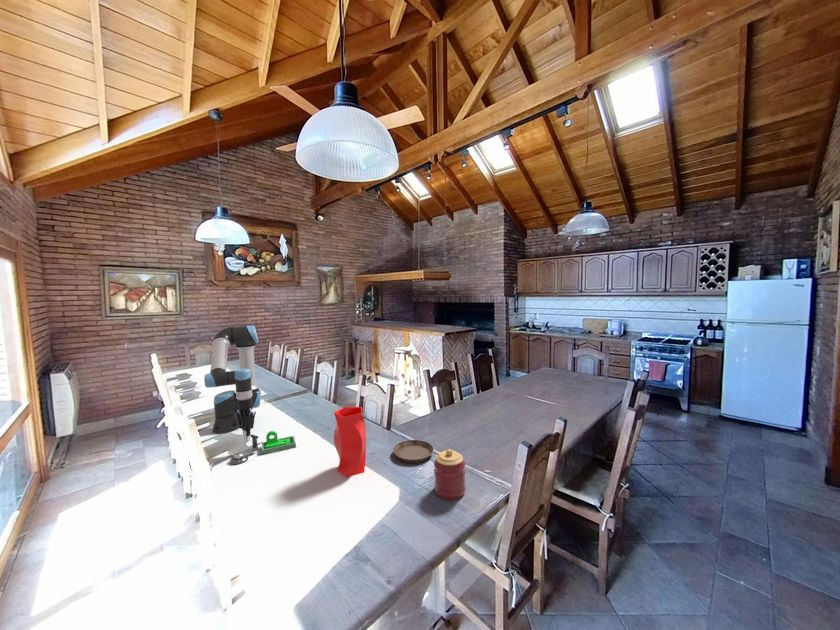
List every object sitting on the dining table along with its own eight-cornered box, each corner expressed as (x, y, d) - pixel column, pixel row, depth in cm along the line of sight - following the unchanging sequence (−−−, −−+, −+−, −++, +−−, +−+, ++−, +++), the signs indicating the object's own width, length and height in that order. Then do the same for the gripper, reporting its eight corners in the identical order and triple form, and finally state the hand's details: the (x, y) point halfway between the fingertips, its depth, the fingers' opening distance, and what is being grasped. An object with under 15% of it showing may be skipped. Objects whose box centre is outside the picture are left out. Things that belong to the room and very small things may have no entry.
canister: (457, 504, 126) (456, 460, 125) (428, 494, 133) (427, 452, 131) (470, 486, 137) (470, 446, 135) (443, 478, 144) (442, 439, 142)
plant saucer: (439, 449, 171) (439, 443, 170) (423, 469, 152) (423, 462, 152) (405, 442, 179) (405, 437, 179) (385, 460, 161) (385, 454, 161)
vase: (372, 464, 157) (370, 408, 156) (357, 480, 144) (354, 419, 142) (345, 459, 162) (343, 405, 161) (328, 475, 149) (325, 415, 147)
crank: (238, 460, 161) (237, 445, 161) (232, 458, 164) (231, 443, 163) (260, 450, 172) (259, 435, 172) (254, 448, 174) (253, 434, 174)
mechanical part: (266, 450, 173) (265, 436, 173) (267, 445, 179) (266, 431, 178) (290, 446, 178) (289, 431, 177) (290, 441, 183) (289, 427, 183)
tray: (262, 446, 179) (261, 442, 179) (293, 439, 187) (293, 435, 187) (262, 454, 170) (262, 450, 170) (296, 447, 177) (295, 443, 177)
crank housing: (230, 459, 166) (230, 456, 166) (248, 455, 170) (248, 453, 170) (229, 466, 159) (229, 463, 159) (247, 462, 163) (247, 459, 163)
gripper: (229, 399, 170) (232, 442, 172) (247, 401, 166) (250, 446, 167) (241, 395, 177) (244, 437, 179) (259, 397, 173) (262, 440, 174)
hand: (247, 441), depth 173 cm, fingers closed
